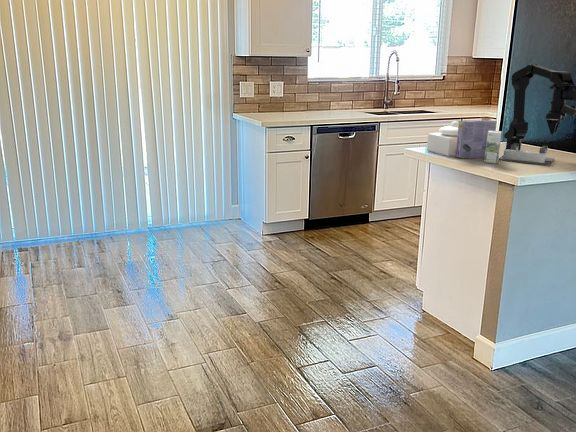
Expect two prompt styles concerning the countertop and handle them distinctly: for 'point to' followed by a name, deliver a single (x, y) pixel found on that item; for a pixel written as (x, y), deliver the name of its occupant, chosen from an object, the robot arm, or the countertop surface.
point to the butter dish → (444, 140)
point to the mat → (525, 161)
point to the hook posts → (542, 150)
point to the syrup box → (493, 147)
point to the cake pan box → (473, 138)
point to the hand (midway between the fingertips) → (553, 133)
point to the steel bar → (525, 156)
